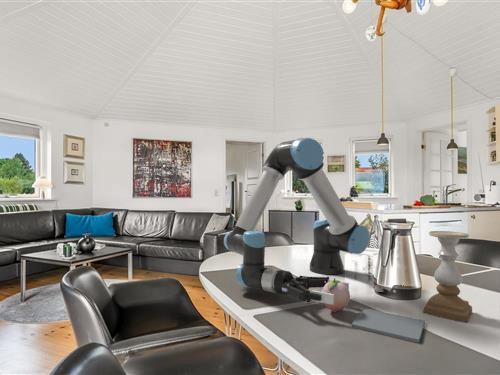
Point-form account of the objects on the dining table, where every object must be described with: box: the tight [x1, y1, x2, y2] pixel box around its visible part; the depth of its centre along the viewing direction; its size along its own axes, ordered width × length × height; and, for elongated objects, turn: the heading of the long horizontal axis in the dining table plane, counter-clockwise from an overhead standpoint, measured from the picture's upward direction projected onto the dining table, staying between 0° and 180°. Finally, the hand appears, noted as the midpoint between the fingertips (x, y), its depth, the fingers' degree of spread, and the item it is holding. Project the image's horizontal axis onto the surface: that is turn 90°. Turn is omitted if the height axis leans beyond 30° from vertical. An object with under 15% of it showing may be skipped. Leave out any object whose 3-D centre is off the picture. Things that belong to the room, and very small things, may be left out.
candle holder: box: [423, 230, 473, 324], centre depth 97 cm, size 11×11×24 cm
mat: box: [351, 308, 426, 344], centre depth 88 cm, size 16×14×1 cm
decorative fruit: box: [321, 278, 351, 313], centre depth 97 cm, size 9×8×10 cm
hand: (341, 293), depth 96 cm, fingers open, 13 cm apart
